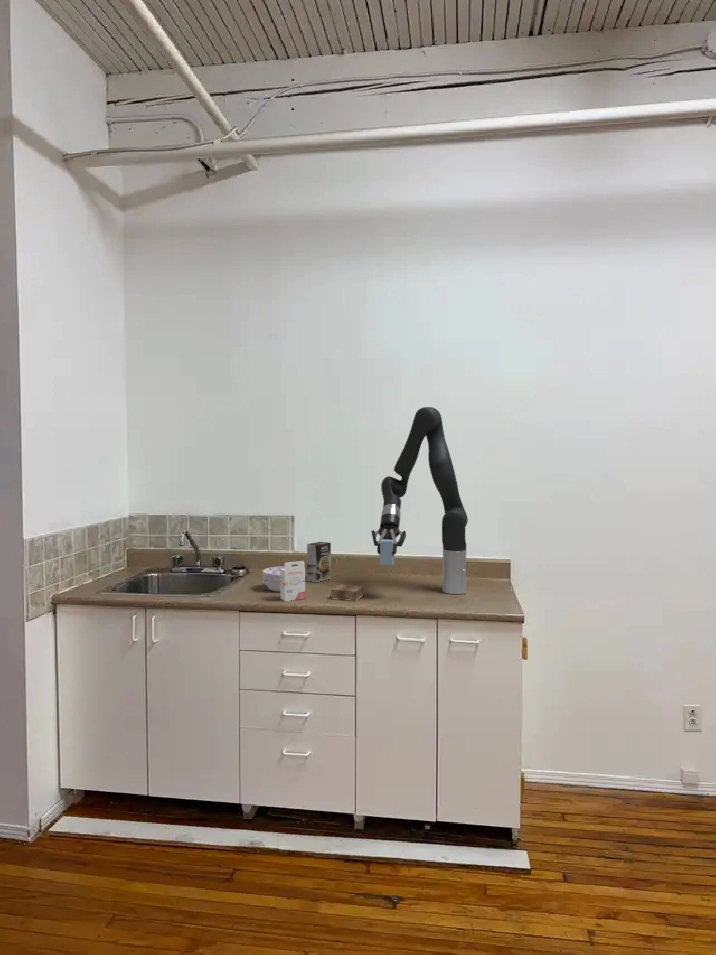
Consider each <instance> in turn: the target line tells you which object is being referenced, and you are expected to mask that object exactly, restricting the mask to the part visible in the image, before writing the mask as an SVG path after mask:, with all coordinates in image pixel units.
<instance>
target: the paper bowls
mask: <svg viewBox="0 0 716 955" xmlns="http://www.w3.org/2000/svg"><path fill="white" fill-rule="evenodd" d="M284 568H285V565H283V566H282V565H281V566H271V567H267V568H264V569H263V570H262V574H261V575H262V579H261V580H262V584H263V585H266V586H267V588H268V589H269V590H270V591H273V592H280V569H284Z"/></svg>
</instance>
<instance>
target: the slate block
mask: <svg viewBox="0 0 716 955" xmlns="http://www.w3.org/2000/svg"><path fill="white" fill-rule="evenodd" d="M393 545H394V543H393V540H387V539H383V540H381V541H380V555H379V559H380V560H379V561H380V562H379V563H380V565H381V566H394V563H395V555H393V554H392V549H393Z"/></svg>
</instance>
